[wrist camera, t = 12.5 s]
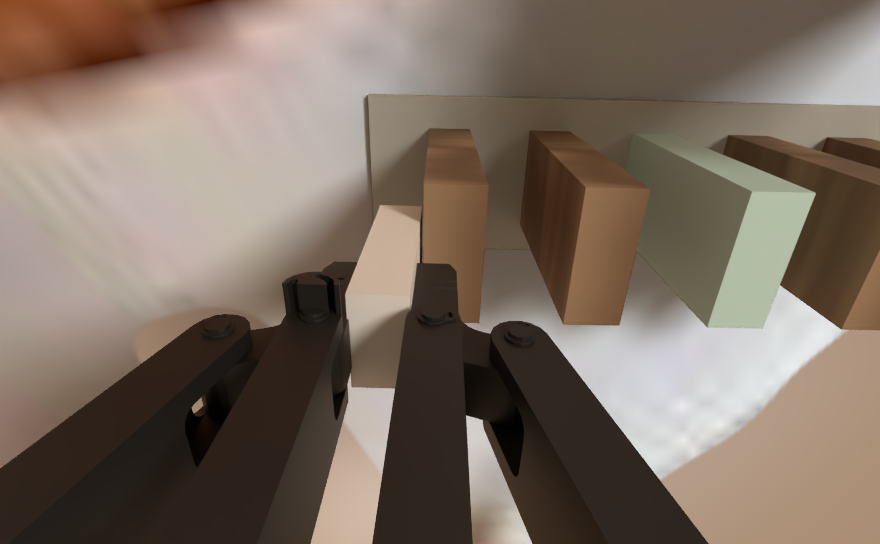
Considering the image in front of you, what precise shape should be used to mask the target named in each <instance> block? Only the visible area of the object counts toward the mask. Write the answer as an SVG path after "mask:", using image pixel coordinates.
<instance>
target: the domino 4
mask: <svg viewBox="0 0 880 544" xmlns="http://www.w3.org/2000/svg"><path fill="white" fill-rule="evenodd" d="M822 152H824V153H828V154H831V155H835V156H838V157H841V158H845V159H848V160H851V161H855V162H858V163H862V164H865V165H868V166H872V167H875V168H878V169H880V141H877V140H873V139H868V138H841V137H827V139H826V141H825V144H824V147H823V149H822Z"/></svg>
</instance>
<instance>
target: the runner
mask: <svg viewBox="0 0 880 544" xmlns="http://www.w3.org/2000/svg"><path fill="white" fill-rule="evenodd" d="M368 106H369V129H370V152H371V175H372V198H373V221H374V220H375V217H376V215H377V212H378V210H379V207H380V205H398V206H422V248H423V214H424V177H425V167H426V158H427V148H428V139H429V130H430V128H444V129H470V131H471V134H472V137H473V140H474V143H475V146H476V149H477V152H478V155H479V158H480V161H481V164H482V167H483V170H484V173H485V176H486V179H487V182H488V185H489V189H488V203H487V217H486V232H485V246H484V249H512V250H531V249H530V247H529V244H528V242H527V240H526V237H525V235H524V233H523V231H522V228H521V226H520V219H521V209H522V200H523V190H524V181H525V171H526V161H527V152H528V142H529V133H530V130H532V131H570V132H571V133H573V134H574V135H575V136H577V137H578V138H580V139H581V140H583V141H584V142H585V143H587V144H588V145H590V146H591V147H592V148H594V149H595V150H597V151H598V152H599V153H601V154H602V155H604V156H605V157H606V158H608V159H609V160H611V161H612V162H613V163H615V164H616V165H618V166H619V167H621V168H622V169H623V170H625V168H626V163H627V159H628V154H629V149H630V144H631V139H632V134H633V133H650V134H673V135H676V136H678V137H681V138H683V139H686V140H688V141H691V142H693V143H695V144H698V145H700V146H703V147H705V148H708V149H710V150H713V151H715V152H717V153H720V154H722V155H723V152H724V149H725V145H726V142H727V138H728V135H753V136H770V137H774V138H777V139H780V140H784V141H787V142H791V143H794V144H797V145H801V146H804V147H807V148H811V149H814V150H818V151H821V152H822V149H823V147H824V144H825V141H826V139H827V137H841V138H868V139H873V140H877V141H880V106H856V105H813V104H770V103H728V102H685V101H642V100H600V99H557V98H514V97H472V96H429V95H386V94H368ZM636 252H637V251H636Z"/></svg>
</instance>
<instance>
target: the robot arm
mask: <svg viewBox="0 0 880 544" xmlns="http://www.w3.org/2000/svg"><path fill="white" fill-rule="evenodd" d="M282 286H283V294H284V301H285V308H286V316H285V317H284V319H283V321H282V323H281V324H280V325H278V326H274V327H269V328H264V329H256V330H251V328H250V323H249V321H248V320H247V319H246V318H244V317H242V316H238V315H228V314H223V315H216V316H212V317H210V318H207V319H204V320H202V321H200V322H198V323H196V324H195V325H193V326H192V327H190V328H189V329H188V330H186V331H185V332H184V333H182V334H181V335H180V336H178V337H177V338H175V339H174V340H173V341H172V342H170V343H169V344H168V345H166V346H165V347H163V348H162V349H161V350H159V351H158V352H157V353H155V354H154V355H153V356H151V357H150V358H149V359H147V360H146V361H145V362H143V363H142V364H140V365H139V366H138V367H136V368H135V369H134V370H132V371H131V372H130V373H128V374H127V375H126V376H124V377H123V378H122V379H120V380H119V381H118V382H116V383H115V384H114V385H112V386H111V387H110V388H108V389H107V390H105V391H104V392H103V393H101V394H100V395H99V396H97V397H96V398H95V399H93V400H92V401H91V402H89V403H88V404H87V405H85V406H84V407H83V408H81V409H80V410H79V411H77V412H76V413H75V414H73V415H72V416H70V417H69V418H68V419H66V420H65V421H64V422H62V423H61V424H60V425H58V426H57V427H56V428H54V429H53V430H52V431H50V432H49V433H48V434H46V435H45V436H44V437H42V438H41V439H40V440H38V441H37V442H35V443H34V444H33V445H31V446H30V447H29V448H27V449H26V450H25V451H23V452H22V453H21V454H19V455H18V456H17V457H15V458H14V459H13V460H11V461H10V462H9V463H7V464H6V465H4V466H3V467H2V468H0V544H310V543H311V539H312V535H313V532H314V528H315V524H316V520H317V517H318V513H319V509H320V505H321V502H322V498H323V494H324V490H325V487H326V483H327V478H328V475H329V471H330V467H331V464H332V460H333V456H334V453H335V449H336V445H337V441H338V437H339V434H340V430H341V426H342V422H343V419H344V415H345V411H346V407H347V404H348V388H347V383H348V380H349V376H350V373H351V384H352V387H365V388H395V393H394V400H393V407H392V414H391V420H390V427H389V434H388V441H387V447H386V454H385V461H384V468H383V474H382V482H381V488H380V495H379V502H378V509H377V515H376V522H375V529H374V535H373V543H372V544H473V543H472V524H471V505H470V485H469V466H468V446H467V427H466V415H467V416H471V417H474V418H478V419H481V420H483V426H484V430H485V432H486V435H487V437H488V439H489V442H490V444H491V446H492V449H493V451H494V454H495V456H496V458H497V461H498V463H499V465H500V468H501V470H502V473H503V475H504V477H505V480H506V482H507V484H508V487H509V489H510V492H511V494H512V496H513V499H514V501H515V503H516V506H517V508H518V511H519V513H520V515H521V518H522V520H523V522H524V525H525V527H526V530H527V532H528V534H529V537H530V539H531V541H532V544H708V542H707V541H706V540H705V538H704V537H703V536H702V535H701V533H700V532H699V531H698V529H697V528H696V527H695V526H694V524H693V523H692V522H691V520H690V519H689V518H688V516H687V515H686V514H685V512H684V511H683V510H682V509H681V507H680V506H679V505H678V504H677V502H676V501H675V499H674V498H673V497H672V496H671V494H670V493H669V492H668V490H667V489H666V488H665V486H664V485H663V484H662V483H661V481H660V480H659V479H658V477H657V476H656V475H655V473H654V472H653V471H652V470H651V468H650V467H649V466H648V464H647V463H646V462H645V460H644V459H643V458H642V456H641V455H640V454H639V453H638V451H637V450H636V449H635V447H634V446H633V445H632V443H631V442H630V441H629V440H628V438H627V437H626V436H625V434H624V433H623V432H622V430H621V429H620V428H619V427H618V425H617V424H616V423H615V421H614V420H613V419H612V417H611V416H610V415H609V414H608V412H607V411H606V410H605V408H604V407H603V406H602V404H601V403H600V402H599V401H598V399H597V398H596V397H595V395H594V394H593V393H592V391H591V390H590V389H589V388H588V386H587V385H586V384H585V382H584V381H583V380H582V378H581V377H580V376H579V375H578V373H577V372H576V371H575V369H574V368H573V367H572V365H571V364H570V363H569V362H568V360H567V359H566V358H565V356H564V355H563V354H562V352H561V351H560V350H559V349H558V347H557V346H556V345H555V343H554V342H553V341H552V339H551V338H550V337H549V336H548V334H547V333H546V332H545V331H543V330H542V329H541V328H540V327H538V326H535V325H533V324H531V323H527V322H523V321H508V322H504V323H500V324H498V325H497V326H495V327H494V328H493V330H492V332H491V334H489V333H484V332H481V331H477V330H474V329H472V328H470V327H468V326H467V325H466V324H464V323H463V322H462V321H461V318H460V315H459V310H458V290H457V271H456V270H455V269H454V268H453V267H452V266H451V265H450V264H436V263H422V206H398V205H380V207H379V210H378V212H377V215H376V217H375V220H374V222H373V225H372V227H371V230H370V232H369V235H368V238H367V240H366V243H365V245H364V248H363V250H362V253H361V255H360V258H359V260H358V262H333V263H332V264H330V265H329V266H327V267H326V268H324V269H323V271H322V272H306V273H302V274H297V275H295V276H292V277H290V278H288V279H287V280H286V281H284V282H283V283H282ZM200 398H202V401H203V405H204V406H203V407H202V408H201V409H200V410H199V411H197V412H196V413H193V412H192V408H191V407H192V406H193V405H194V404H195V403H196V402H197V401H198V400H199V399H200Z"/></svg>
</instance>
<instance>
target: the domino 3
mask: <svg viewBox="0 0 880 544" xmlns="http://www.w3.org/2000/svg"><path fill="white" fill-rule="evenodd" d="M723 155H725V156H727V157H730V158H732V159H735V160H737V161H739V162H742V163H744V164H747V165H749V166H752V167H754V168H756V169H759V170H761V171H764V172H766V173H769V174H771V175H774V176H776V177H778V178H781V179H783V180H786V181H788V182H791V183H793V184H796V185H798V186H800V187H803V188H805V189H808V190H810V191H813V192H815V193H816V195H815V197H814V200H813V202H812V205H811V207H810V210H809V212H808V215H807V217H806V220H805V222H804V225H803V228H802V230H801V233H800V235H799V238H798V240H797V243H796V245H795V248H794V250H793V253H792V255H791V258H790V261H789V263H788V266H787V268H786V271H785V273H784V276H783V278H782V281H781V283H780V285H781V286H782V287H783V288H785V289H786V290H788V291H789V292H790V293H792V294H793V295H794V296H796V297H797V298H799V299H800V300H801V301H803V302H804V303H806V304H807V305H808V306H810V307H811V308H812V309H814V310H815V311H817V312H818V313H819V314H821V315H822V316H824V317H825V318H826V319H828V320H829V321H830V322H832V323H833V324H835V325H836V326H837V327H839V328H840V329H844V330H880V169H878V168H875V167H872V166H868V165H865V164H862V163H858V162H855V161H851V160H848V159H845V158H841V157H838V156H835V155H831V154H828V153H824V152H821V151H818V150H814V149H811V148H807V147H804V146H801V145H797V144H794V143H791V142H787V141H784V140H780V139H777V138H774V137H770V136H753V135H728V138H727V142H726V145H725V149H724V152H723Z"/></svg>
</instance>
